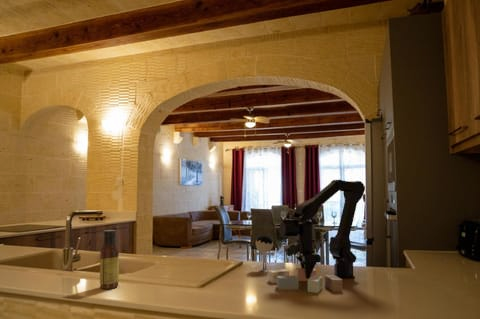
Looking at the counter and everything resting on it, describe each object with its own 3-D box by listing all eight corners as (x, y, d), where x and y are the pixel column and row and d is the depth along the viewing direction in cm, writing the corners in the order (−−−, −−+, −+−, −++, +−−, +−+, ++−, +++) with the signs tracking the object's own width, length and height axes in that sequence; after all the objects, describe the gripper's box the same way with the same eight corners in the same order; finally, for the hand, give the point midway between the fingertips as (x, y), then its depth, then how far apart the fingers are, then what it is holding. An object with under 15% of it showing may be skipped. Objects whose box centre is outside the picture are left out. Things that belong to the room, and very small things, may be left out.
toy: (274, 267, 156) (274, 234, 157) (274, 271, 149) (274, 235, 151) (255, 267, 157) (255, 233, 158) (254, 270, 150) (254, 235, 152)
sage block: (312, 287, 124) (312, 275, 125) (322, 288, 123) (321, 276, 123) (307, 292, 118) (307, 280, 118) (318, 293, 117) (317, 281, 117)
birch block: (284, 279, 135) (284, 269, 136) (289, 281, 132) (289, 270, 133) (268, 281, 133) (268, 270, 133) (273, 283, 129) (273, 272, 130)
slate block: (296, 287, 125) (295, 275, 125) (298, 289, 121) (298, 277, 122) (276, 287, 124) (276, 275, 124) (278, 290, 121) (278, 278, 121)
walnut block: (325, 286, 125) (324, 275, 126) (334, 286, 126) (334, 275, 126) (332, 291, 118) (332, 279, 119) (342, 291, 119) (342, 279, 119)
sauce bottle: (122, 286, 124) (124, 229, 126) (110, 290, 118) (112, 231, 120) (107, 284, 126) (109, 229, 128) (94, 288, 121) (97, 230, 123)
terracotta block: (314, 278, 136) (314, 268, 137) (316, 281, 133) (316, 270, 133) (296, 278, 136) (296, 268, 137) (298, 281, 133) (297, 270, 133)
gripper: (280, 233, 145) (280, 272, 143) (291, 239, 126) (291, 283, 125) (306, 233, 146) (307, 271, 144) (321, 239, 127) (321, 283, 126)
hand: (306, 277), depth 135 cm, fingers closed on terracotta block, 4 cm apart
